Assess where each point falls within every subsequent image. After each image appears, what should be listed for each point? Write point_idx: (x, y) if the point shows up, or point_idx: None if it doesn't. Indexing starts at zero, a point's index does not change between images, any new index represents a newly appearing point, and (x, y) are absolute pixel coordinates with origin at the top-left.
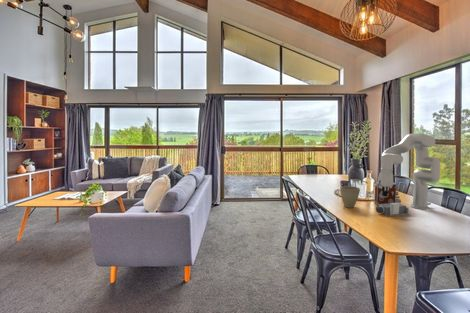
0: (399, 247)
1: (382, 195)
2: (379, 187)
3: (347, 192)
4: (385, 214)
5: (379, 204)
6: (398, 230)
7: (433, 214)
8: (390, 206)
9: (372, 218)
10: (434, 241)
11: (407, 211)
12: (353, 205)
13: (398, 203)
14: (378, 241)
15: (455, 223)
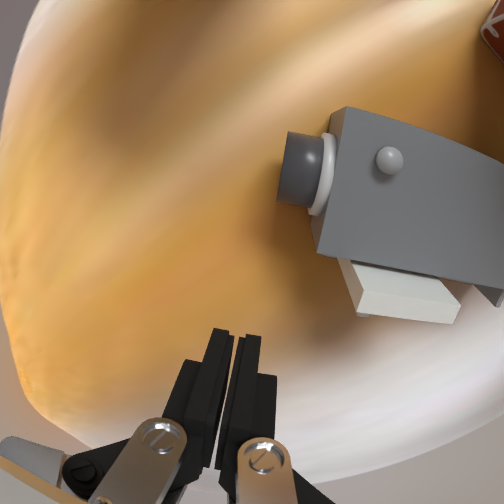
0: (56, 419)
1: (215, 331)
2: (10, 456)
3: None
4: (312, 218)
5: (366, 126)
6: (133, 393)
7: None
8: (353, 279)
9: (132, 229)
10: None
11: (482, 289)
12: None
13: (441, 321)
14: (24, 380)
15: (460, 424)
